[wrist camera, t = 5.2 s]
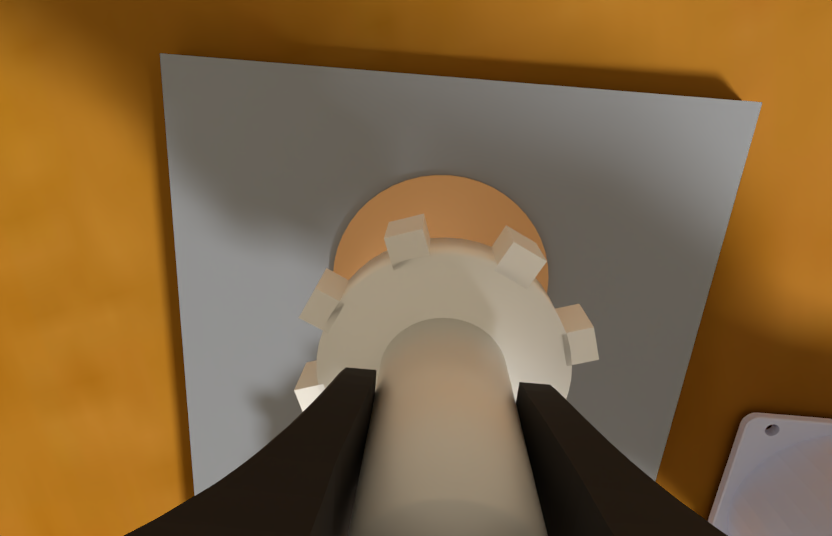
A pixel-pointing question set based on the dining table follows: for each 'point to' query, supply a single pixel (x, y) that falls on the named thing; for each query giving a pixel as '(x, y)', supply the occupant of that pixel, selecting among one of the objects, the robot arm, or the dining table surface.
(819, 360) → the dining table surface
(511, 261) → the planet gear
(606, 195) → the plate
